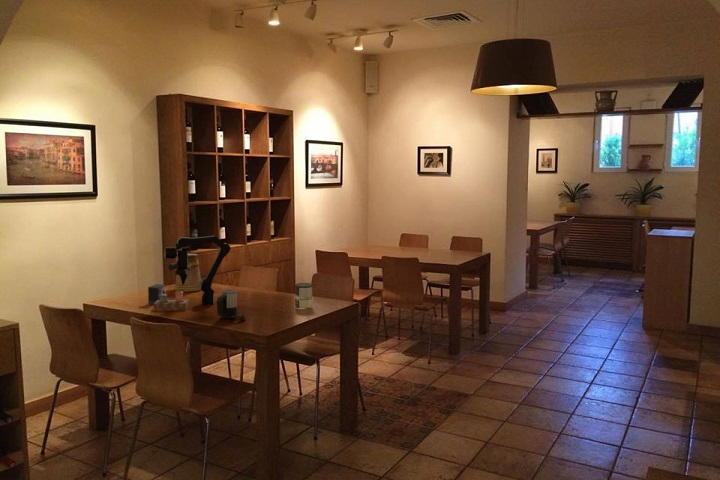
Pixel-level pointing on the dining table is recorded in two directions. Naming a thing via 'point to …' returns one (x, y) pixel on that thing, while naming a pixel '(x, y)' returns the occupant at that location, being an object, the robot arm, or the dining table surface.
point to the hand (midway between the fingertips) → (183, 284)
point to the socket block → (170, 305)
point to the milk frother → (228, 305)
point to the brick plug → (179, 296)
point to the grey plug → (163, 298)
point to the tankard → (189, 276)
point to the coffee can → (303, 295)
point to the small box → (155, 292)
